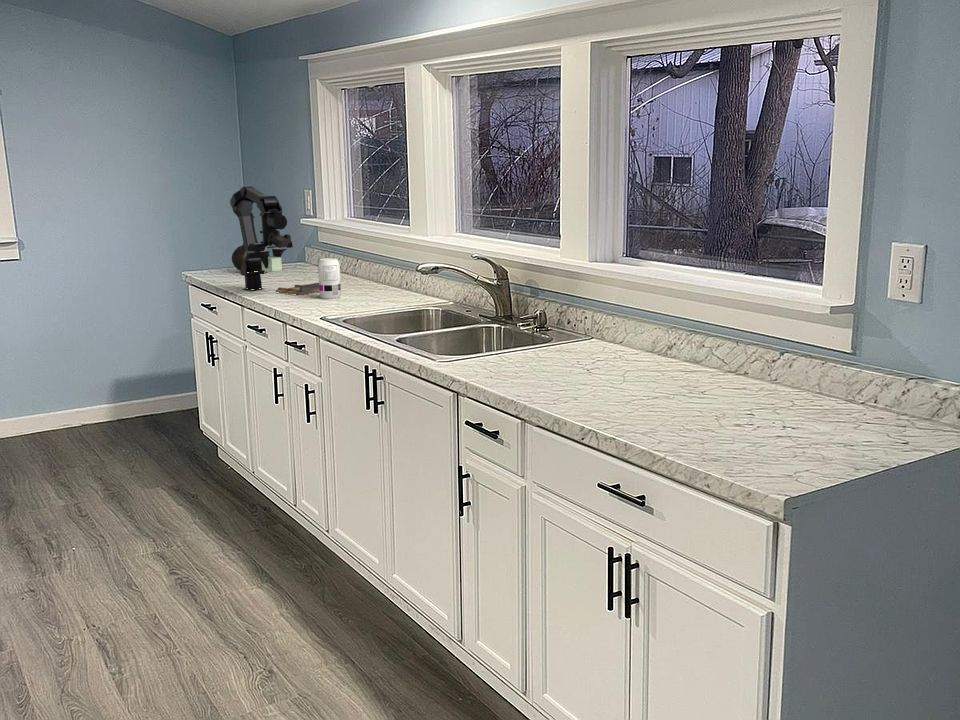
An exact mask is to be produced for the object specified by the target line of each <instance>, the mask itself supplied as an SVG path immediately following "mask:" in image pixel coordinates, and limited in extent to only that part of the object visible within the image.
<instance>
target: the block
mask: <svg viewBox="0 0 960 720" xmlns="http://www.w3.org/2000/svg"><path fill="white" fill-rule="evenodd" d="M282 265H283V264H282V256H281V257H273V256H270V257H268V268H265V266H264V264H263V263H262V270H265V271H267V272H277V271H282V270H283V267H282Z"/></svg>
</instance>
